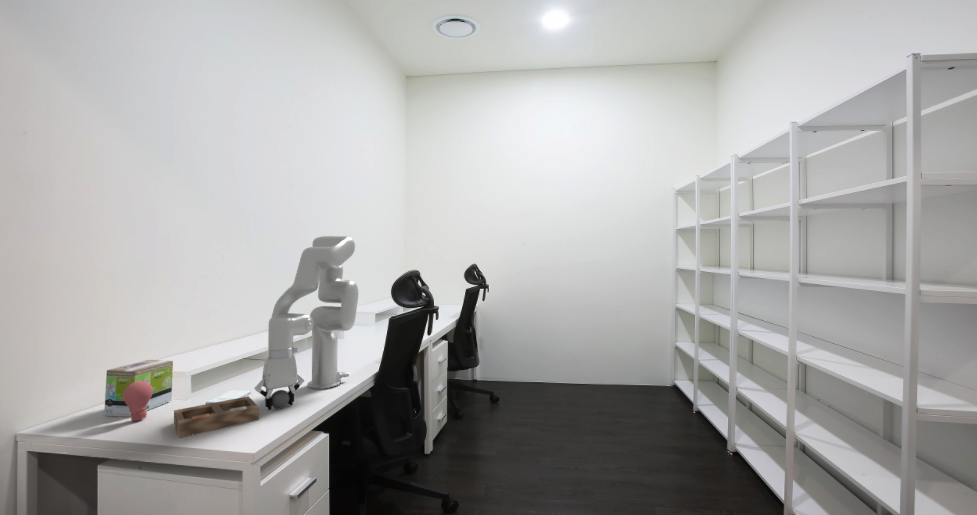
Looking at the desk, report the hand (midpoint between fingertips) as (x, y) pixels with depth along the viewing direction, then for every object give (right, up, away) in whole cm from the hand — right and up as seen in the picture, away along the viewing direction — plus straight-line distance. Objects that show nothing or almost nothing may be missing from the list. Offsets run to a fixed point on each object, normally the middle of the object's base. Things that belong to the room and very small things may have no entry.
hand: (279, 406), depth 138 cm
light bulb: (-38, 0, -12) cm, 40 cm away
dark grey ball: (0, +2, 0) cm, 2 cm away
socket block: (-13, 0, -12) cm, 18 cm away
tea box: (-46, 0, -2) cm, 46 cm away
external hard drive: (-23, -1, +8) cm, 24 cm away
